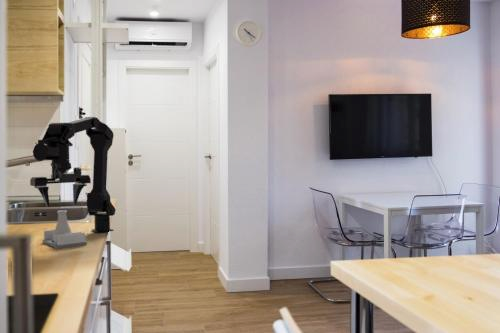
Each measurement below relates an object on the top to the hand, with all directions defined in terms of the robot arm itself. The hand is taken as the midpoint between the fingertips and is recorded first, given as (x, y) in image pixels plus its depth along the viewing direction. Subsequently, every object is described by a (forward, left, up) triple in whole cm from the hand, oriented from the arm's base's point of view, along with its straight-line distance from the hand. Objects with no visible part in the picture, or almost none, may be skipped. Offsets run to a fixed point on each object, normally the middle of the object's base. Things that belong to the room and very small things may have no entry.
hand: (61, 205), depth 180 cm
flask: (0, 0, -12) cm, 12 cm away
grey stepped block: (+1, 0, -13) cm, 13 cm away
